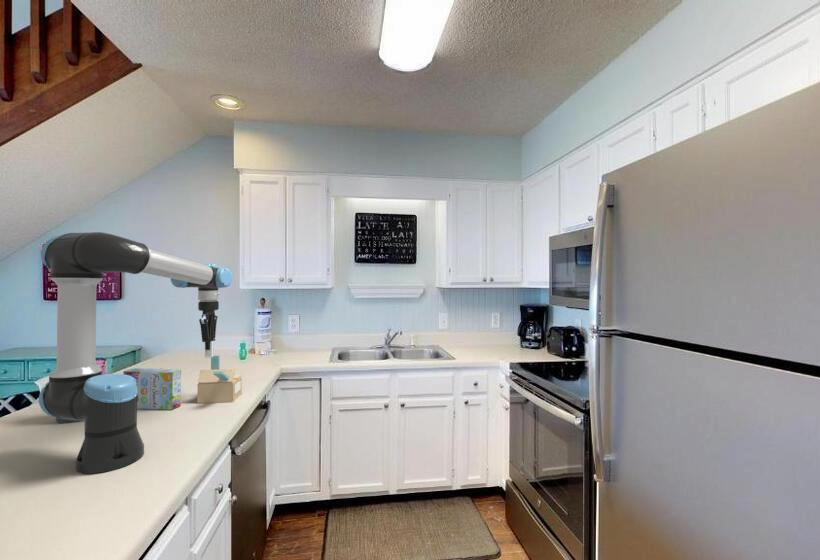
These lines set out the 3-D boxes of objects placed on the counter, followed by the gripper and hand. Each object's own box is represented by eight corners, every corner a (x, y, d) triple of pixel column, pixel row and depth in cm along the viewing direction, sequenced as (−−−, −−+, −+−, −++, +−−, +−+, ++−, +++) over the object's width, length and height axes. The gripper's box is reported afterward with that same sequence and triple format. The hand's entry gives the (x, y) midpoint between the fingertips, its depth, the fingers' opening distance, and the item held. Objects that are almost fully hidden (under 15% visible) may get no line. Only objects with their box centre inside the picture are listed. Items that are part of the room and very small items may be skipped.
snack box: (182, 405, 153) (182, 368, 153) (171, 410, 147) (171, 372, 147) (133, 404, 155) (133, 367, 155) (121, 408, 149) (121, 370, 149)
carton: (233, 402, 157) (233, 382, 157) (197, 403, 155) (197, 384, 155) (242, 394, 168) (242, 376, 168) (208, 395, 166) (208, 377, 166)
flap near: (233, 381, 157) (226, 376, 149) (198, 382, 156) (188, 377, 147) (235, 369, 160) (228, 363, 151) (200, 370, 158) (191, 364, 150)
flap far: (208, 377, 166) (208, 355, 166) (241, 376, 168) (241, 354, 168) (203, 380, 161) (203, 357, 161) (237, 379, 163) (237, 356, 163)
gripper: (211, 301, 152) (212, 360, 152) (223, 299, 165) (224, 353, 165) (192, 302, 151) (192, 360, 151) (205, 299, 164) (206, 354, 164)
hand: (209, 357), depth 158 cm, fingers closed
